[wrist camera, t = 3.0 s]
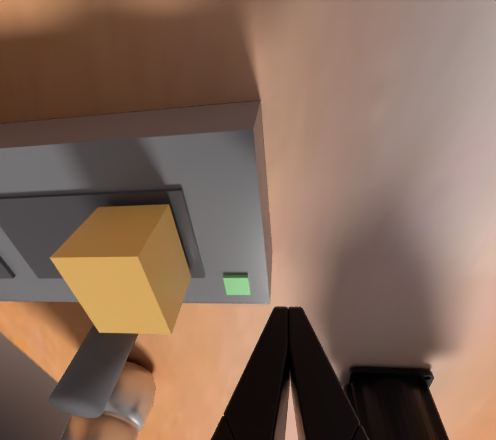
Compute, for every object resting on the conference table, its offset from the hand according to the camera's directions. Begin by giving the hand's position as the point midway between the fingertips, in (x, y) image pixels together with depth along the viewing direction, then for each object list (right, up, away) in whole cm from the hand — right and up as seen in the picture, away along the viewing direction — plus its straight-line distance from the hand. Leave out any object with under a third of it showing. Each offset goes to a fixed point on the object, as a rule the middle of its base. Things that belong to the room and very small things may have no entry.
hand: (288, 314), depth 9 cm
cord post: (-11, -4, +14) cm, 19 cm away
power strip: (-11, +4, +8) cm, 14 cm away
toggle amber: (-6, +2, +4) cm, 7 cm away
